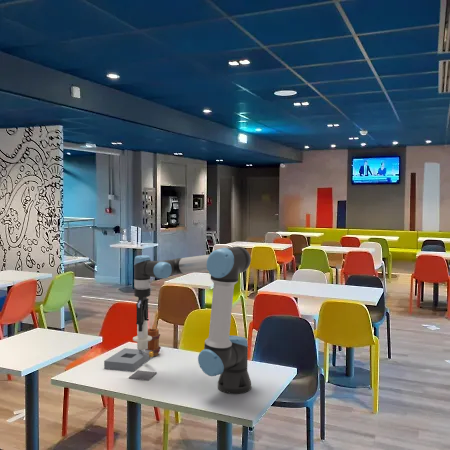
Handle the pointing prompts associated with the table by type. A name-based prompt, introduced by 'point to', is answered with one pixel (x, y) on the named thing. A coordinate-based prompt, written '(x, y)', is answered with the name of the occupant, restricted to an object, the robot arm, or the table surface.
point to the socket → (126, 360)
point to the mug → (154, 340)
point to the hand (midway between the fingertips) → (142, 336)
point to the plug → (143, 342)
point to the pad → (142, 375)
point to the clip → (147, 353)
